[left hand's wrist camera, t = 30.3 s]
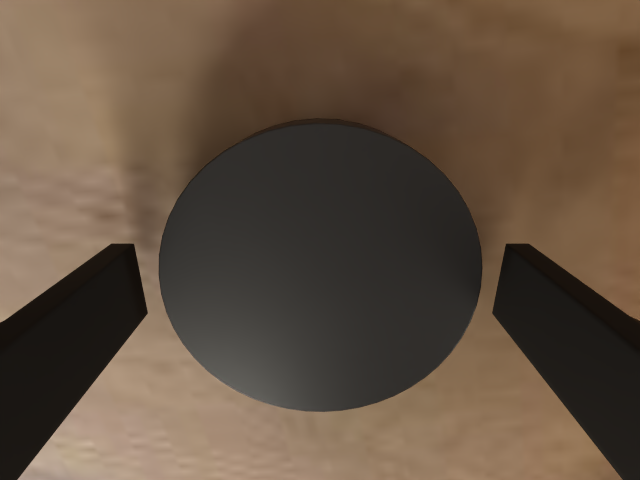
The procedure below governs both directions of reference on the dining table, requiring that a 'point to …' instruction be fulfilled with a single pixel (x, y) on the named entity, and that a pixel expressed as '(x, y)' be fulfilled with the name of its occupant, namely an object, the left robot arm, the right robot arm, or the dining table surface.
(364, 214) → the lid
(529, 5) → the dining table surface
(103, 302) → the left robot arm
